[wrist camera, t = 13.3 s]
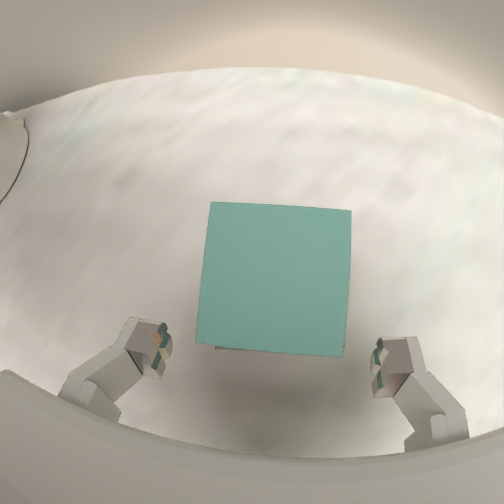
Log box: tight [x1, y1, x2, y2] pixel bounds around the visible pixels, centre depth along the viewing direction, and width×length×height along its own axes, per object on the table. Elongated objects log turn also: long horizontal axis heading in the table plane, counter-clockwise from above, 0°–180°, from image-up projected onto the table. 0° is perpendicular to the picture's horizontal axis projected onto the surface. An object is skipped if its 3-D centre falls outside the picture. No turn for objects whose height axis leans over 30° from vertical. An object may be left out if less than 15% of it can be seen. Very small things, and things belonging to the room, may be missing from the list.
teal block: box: [196, 202, 351, 357], centre depth 13 cm, size 5×5×8 cm
